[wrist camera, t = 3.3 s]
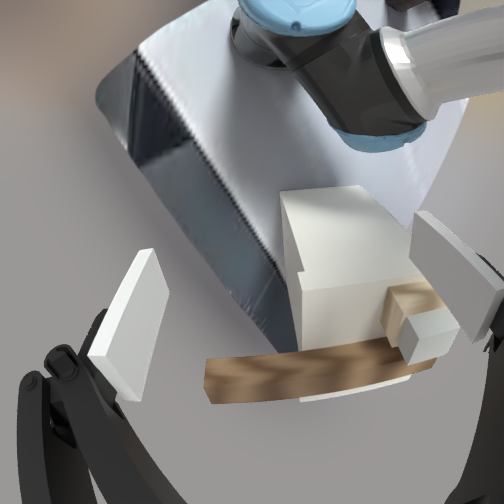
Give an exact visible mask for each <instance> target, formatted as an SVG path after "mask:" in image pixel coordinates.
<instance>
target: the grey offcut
mask: <svg viewBox="0 0 504 504" xmlns="http://www.w3.org/2000/svg"><path fill="white" fill-rule="evenodd" d="M459 329H460V326H459V324H458V323H457V321H456V320H455V318H454V317H453V315H452V314H451V312H450V311H449V309H448V308H447V307H443V308H439V309H435V310H431V311H427V312H423V313H419V314H414V315H410V316H407V317H406V320H405V323H404V326H403V329H402V332H401V335H400V337H399V340H398V343H397V344H398V347H399V349H400V351H401V353H402V355H403V358H404V360H405V362H406V364H407V366H409V365H412V364H416V363H419V362H423V361H426V360H429V359H432V358H435V357H438V356H441V355H444V354H447V352H448V350H449V348H450V346H451V345H452V343H453V341H454V339H455V337H456V335H457V333H458V331H459Z"/></svg>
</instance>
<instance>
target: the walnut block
mask: <svg viewBox="0 0 504 504" xmlns="http://www.w3.org/2000/svg"><path fill="white" fill-rule="evenodd" d="M436 359H437V357H435V358H432V359H429V360H426V361H423V362H419V363H416V364H412V365H409V366H407V364H406V362H405V360H404V358H403V355H402V353H401V351H400V349H399V347H398V346H397V347H393V348H392V347H391V345H390V342H389V340H388V338H387V336H386V337H381V338H376V339H371V340H366V341H361V342H356V343H350V344H344V345H338V346H332V347H326V348H319V349H312V350H305V351H297V352H289V353H280V354H270V355H260V356H248V357H235V358H217V359H206V368H205V377H204V389H205V391H206V393H207V396H208V397H209V399H210V402H211V403H212V404H226V403H248V402H262V401H273V400H283V399H292V398H300V397H307V396H314V395H321V394H327V393H333V392H338V391H344V390H349V389H354V388H359V387H363V386H368V385H372V384H376V383H380V382H384V381H388V380H392V379H396V378H400V377H403V376H407V375H410V374H414V373H417V372H420V371H423V370H427V369H430V368H432V366H433V364H434V363H435V361H436Z"/></svg>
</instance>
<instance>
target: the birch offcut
mask: <svg viewBox="0 0 504 504" xmlns="http://www.w3.org/2000/svg"><path fill="white" fill-rule="evenodd" d="M443 307H447V306H446V305H445V303H444V302H443V301H442V299H441V298H440V297H439V295H438V294H437V293H436V291H435V290H434V289H433V287H432V286H431V285H430V284H429V282H428V281H427V280H424V281H418V282H413V283H407V284H401V285H396V286H390V287H388V289H387V294H386V298H385V302H384V307H383V311H382V315H381V319H380V323H381V325H382V327H383V329H384V331H385V334H386V336H387V338H388V340H389V342H390V345H391V347H392V348H393V347H397V346H398V344H397V343H398V340H399V337H400V335H401V332H402V329H403V326H404V323H405V320H406V317H407V316H410V315H414V314H419V313H423V312H427V311H431V310H435V309H439V308H443ZM447 308H448V307H447Z"/></svg>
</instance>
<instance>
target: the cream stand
mask: <svg viewBox="0 0 504 504" xmlns="http://www.w3.org/2000/svg"><path fill="white" fill-rule="evenodd" d="M280 203H281V216H282V231H283V245H284V262H285V278H286V283H287V289H288V294H289V299H290V304H291V310H292V315H293V321H294V326H295V332H296V337H297V343H298V351H305V350H312V349H319V348H326V347H332V346H338V345H344V344H350V343H356V342H361V341H366V340H371V339H376V338H381V337H386V334H385V331H384V329H383V327H382V325H381V323H380V319H381V315H382V311H383V307H384V302H385V298H386V294H387V289H388V287H390V286H396V285H401V284H407V283H413V282H418V281H424V280H426V278H425V277H424V276H423V275H422V273H421V272H420V271H419V270H418V268H417V267H416V266H415V265H414V264H413V262H412V261H411V260H410V259H409V258H408V257H409V250H410V244H411V237H412V235H411V234H410V233H409V232H408V231H407V230H406V229H405V228H404V227H403V226H402V225H401V224H400V223H399V222H398V221H397V220H396V219H395V218H394V217H393V216H392V215H391V214H390V213H389V212H388V211H387V210H386V209H385V208H384V207H383V206H382V205H381V204H380V203H379V202H378V201H377V200H376V199H375V198H373V197H372V196H371V195H370V194H369V193H368V192H367V191H366V190H365V189H364V188H363V187H362V186H360V185H356V186H339V187H325V188H312V189H300V190H289V191H280ZM410 376H411V374H410V375H407V376H403V377H400V378H396V379H392V380H388V381H384V382H380V383H376V384H372V385H368V386H363V387H359V388H354V389H349V390H344V391H338V392H333V393H327V394H321V395H314V396H307V397H300V398H299V399H300V402H306V401H313V400H320V399H326V398H332V397H337V396H343V395H348V394H352V393H357V392H362V391H367V390H371V389H375V388H379V387H383V386H387V385H391V384H395V383H398V382H402V381H405V380H409V378H410Z"/></svg>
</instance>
